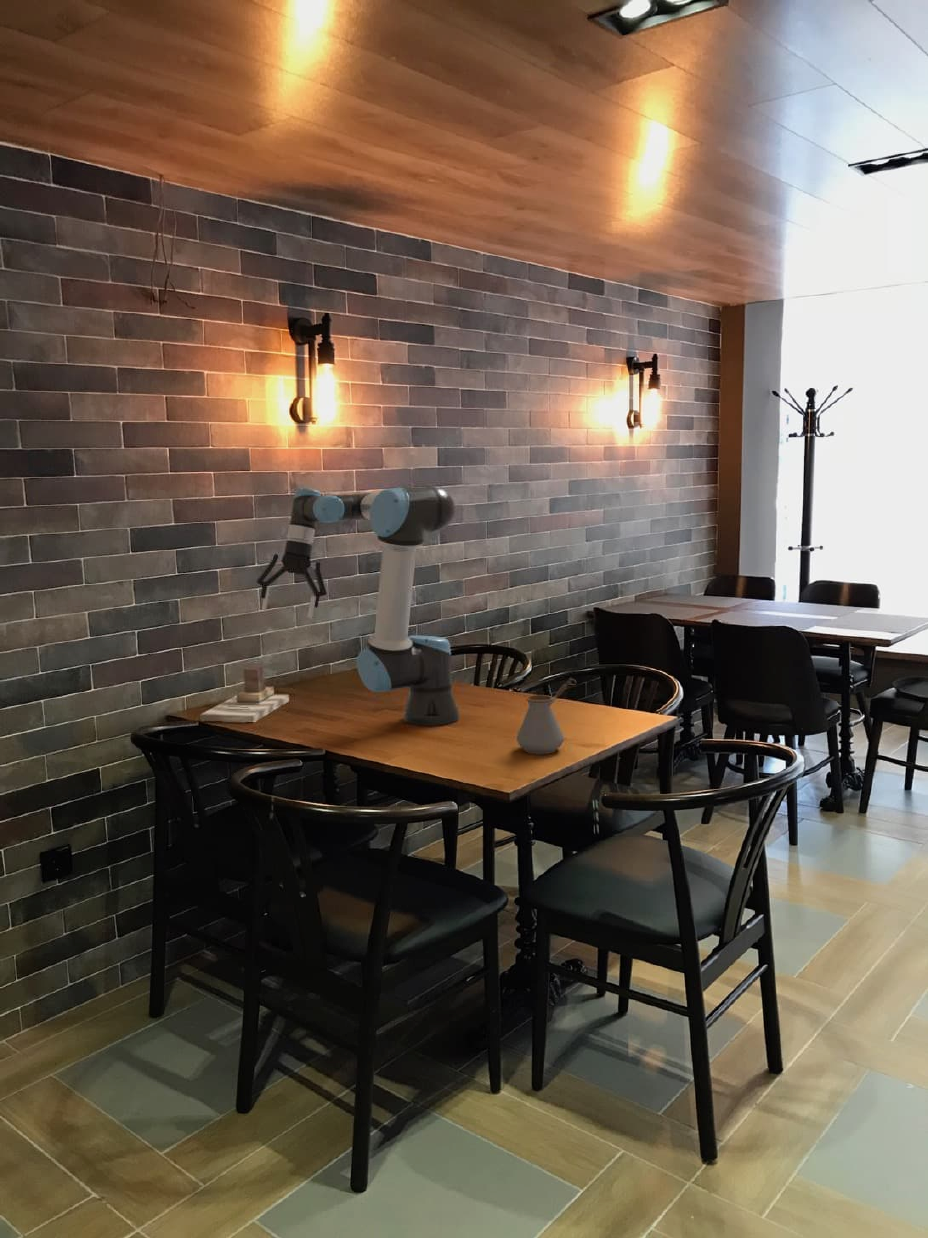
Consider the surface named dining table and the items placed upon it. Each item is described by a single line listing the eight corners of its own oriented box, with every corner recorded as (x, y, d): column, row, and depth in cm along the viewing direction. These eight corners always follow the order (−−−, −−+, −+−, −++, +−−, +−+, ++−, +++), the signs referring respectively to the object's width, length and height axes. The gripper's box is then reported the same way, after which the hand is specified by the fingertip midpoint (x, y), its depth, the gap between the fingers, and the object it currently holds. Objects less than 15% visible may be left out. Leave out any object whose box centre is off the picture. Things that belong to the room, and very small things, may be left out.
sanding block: (252, 694, 298) (250, 663, 297) (274, 694, 297) (272, 664, 295) (237, 702, 288) (235, 671, 286) (259, 703, 286) (257, 671, 285)
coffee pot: (547, 759, 228) (546, 696, 226) (507, 752, 235) (506, 691, 233) (593, 738, 245) (593, 679, 243) (554, 732, 252) (553, 675, 250)
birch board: (240, 700, 300) (239, 693, 300) (289, 701, 297) (288, 694, 296) (200, 721, 275) (200, 714, 275) (253, 722, 272) (253, 715, 271)
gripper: (337, 550, 290) (325, 620, 290) (254, 533, 281) (241, 606, 281) (344, 549, 284) (331, 621, 283) (259, 532, 274) (246, 607, 274)
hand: (287, 614), depth 282 cm, fingers open, 13 cm apart
